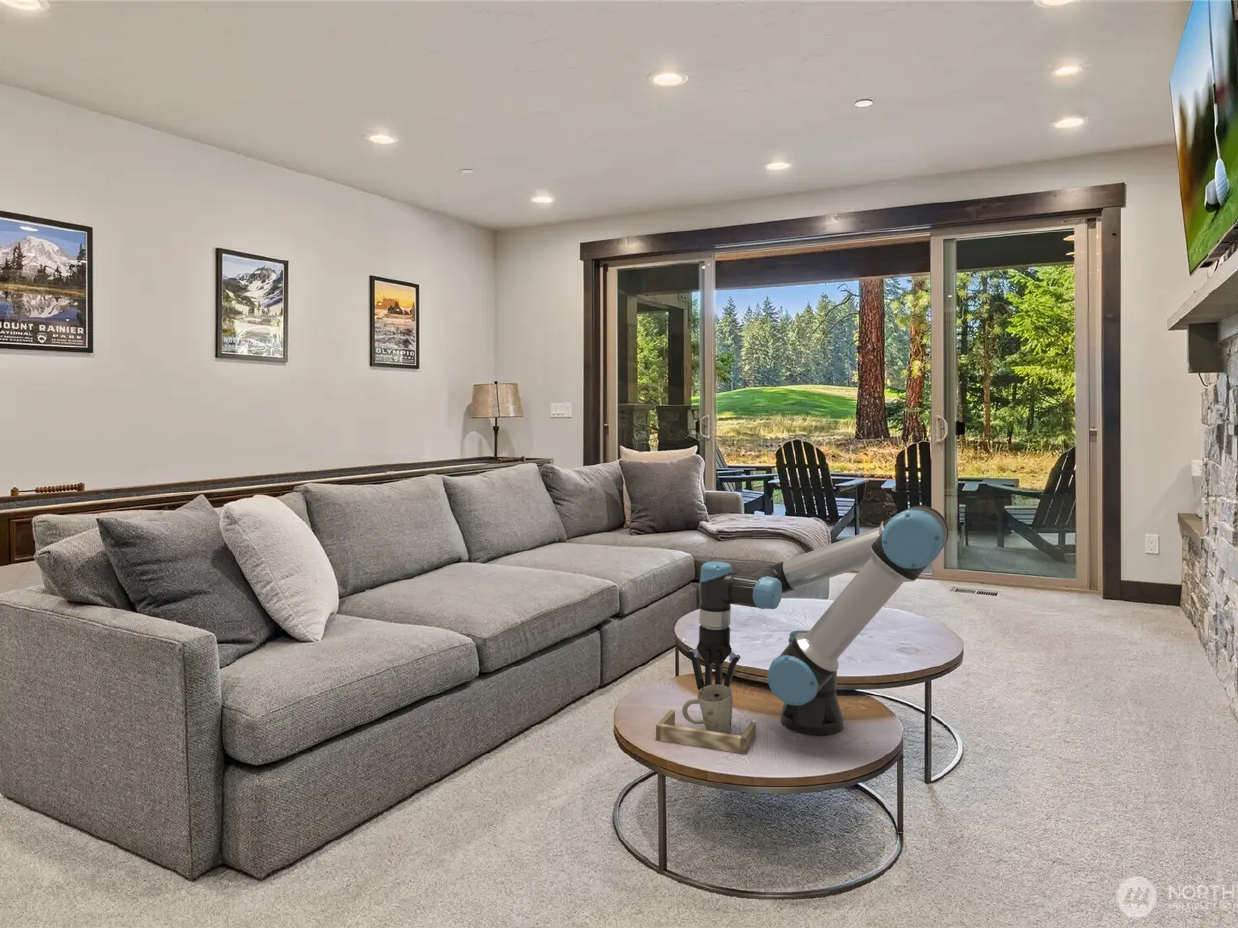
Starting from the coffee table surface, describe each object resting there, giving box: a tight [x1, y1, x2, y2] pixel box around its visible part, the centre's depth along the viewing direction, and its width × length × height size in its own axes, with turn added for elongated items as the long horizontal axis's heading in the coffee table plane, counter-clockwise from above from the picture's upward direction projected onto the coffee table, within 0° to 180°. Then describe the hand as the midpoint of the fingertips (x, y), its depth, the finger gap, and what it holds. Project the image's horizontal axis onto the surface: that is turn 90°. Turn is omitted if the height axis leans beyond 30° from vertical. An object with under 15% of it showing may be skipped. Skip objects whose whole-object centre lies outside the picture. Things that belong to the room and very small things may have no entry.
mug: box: [681, 683, 734, 734], centre depth 195 cm, size 8×13×10 cm, turn 81°
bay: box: [655, 709, 757, 755], centre depth 193 cm, size 21×11×4 cm, turn 68°
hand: (712, 719), depth 200 cm, fingers closed
